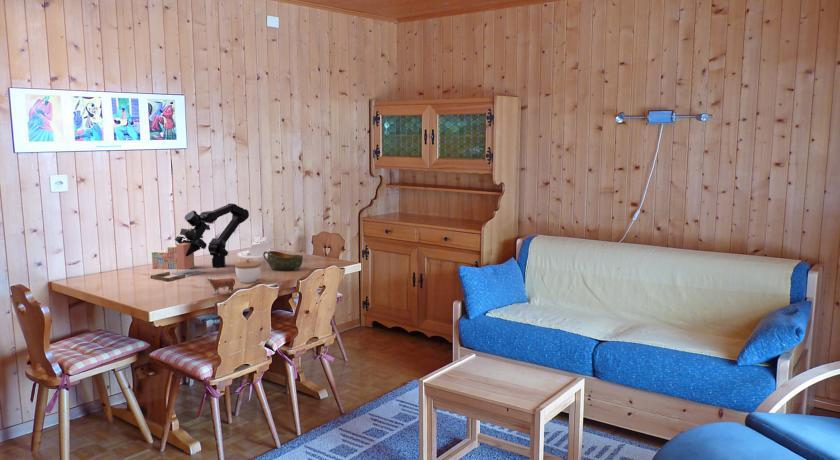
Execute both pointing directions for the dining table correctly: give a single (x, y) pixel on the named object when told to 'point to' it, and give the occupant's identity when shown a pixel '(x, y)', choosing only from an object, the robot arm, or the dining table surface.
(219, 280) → the bull figurine
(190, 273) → the slate-grey mat
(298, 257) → the cup
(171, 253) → the stack of blocks
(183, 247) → the salmon-pink block
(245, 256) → the dish
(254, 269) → the lidded bowl
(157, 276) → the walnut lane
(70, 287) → the dining table surface
